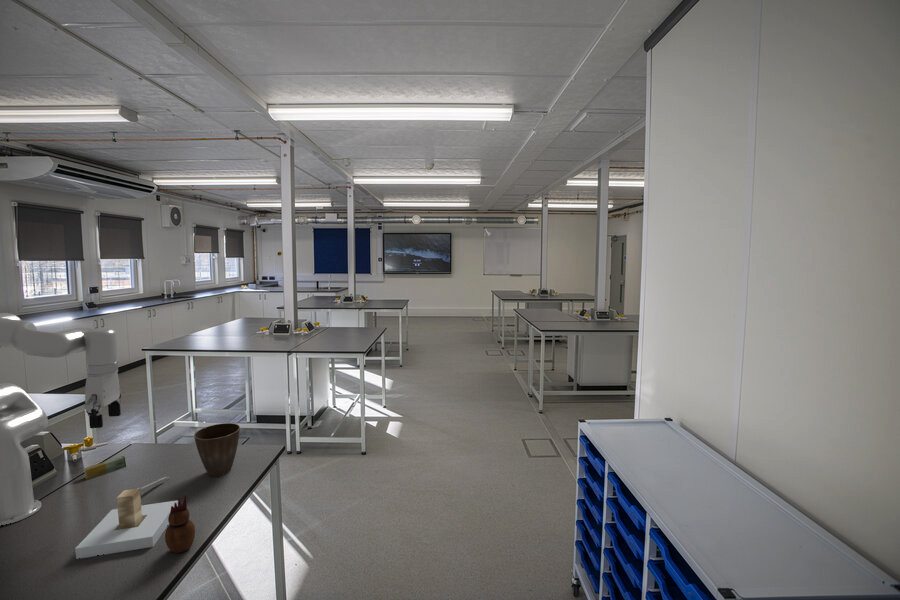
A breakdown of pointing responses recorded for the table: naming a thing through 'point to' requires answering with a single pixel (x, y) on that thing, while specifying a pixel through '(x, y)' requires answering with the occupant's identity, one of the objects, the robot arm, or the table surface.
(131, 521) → the maple peg
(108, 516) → the socket plate
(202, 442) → the plant pot
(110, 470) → the medication box
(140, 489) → the caliper
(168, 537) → the wooden figurine
